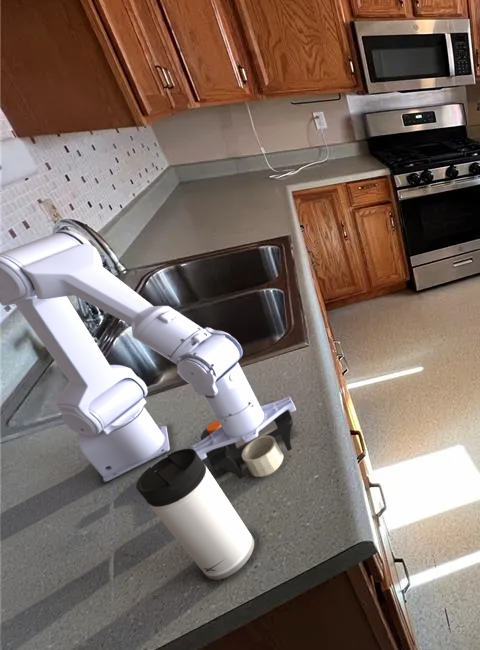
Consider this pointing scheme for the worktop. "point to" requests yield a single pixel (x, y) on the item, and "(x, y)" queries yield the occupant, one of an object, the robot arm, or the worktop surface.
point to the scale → (238, 453)
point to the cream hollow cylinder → (262, 456)
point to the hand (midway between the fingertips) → (265, 459)
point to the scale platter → (262, 432)
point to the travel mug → (197, 513)
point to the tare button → (213, 426)
